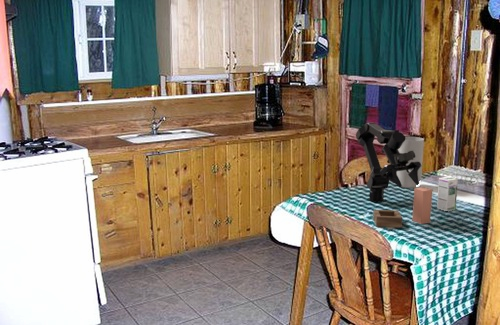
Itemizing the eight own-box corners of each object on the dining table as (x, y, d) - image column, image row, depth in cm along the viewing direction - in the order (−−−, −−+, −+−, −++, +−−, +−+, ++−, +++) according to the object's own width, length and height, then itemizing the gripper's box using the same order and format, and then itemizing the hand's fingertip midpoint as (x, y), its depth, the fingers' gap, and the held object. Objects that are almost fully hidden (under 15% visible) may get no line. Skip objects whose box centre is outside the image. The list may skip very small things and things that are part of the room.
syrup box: (446, 212, 228) (449, 180, 225) (436, 208, 233) (438, 177, 230) (455, 210, 231) (458, 178, 228) (445, 206, 236) (447, 175, 233)
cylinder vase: (424, 184, 274) (427, 138, 269) (415, 189, 265) (418, 141, 259) (401, 181, 282) (404, 136, 277) (392, 186, 272) (394, 139, 267)
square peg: (412, 220, 217) (414, 188, 214) (421, 218, 219) (423, 186, 216) (420, 224, 212) (423, 191, 209) (430, 222, 215) (432, 189, 212)
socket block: (373, 218, 219) (373, 209, 218) (397, 219, 218) (397, 210, 217) (376, 226, 210) (376, 217, 209) (401, 227, 209) (402, 217, 208)
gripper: (385, 146, 217) (402, 177, 210) (420, 143, 225) (437, 173, 218) (373, 161, 226) (388, 191, 218) (406, 157, 234) (422, 186, 226)
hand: (409, 185), depth 220 cm, fingers open, 9 cm apart
